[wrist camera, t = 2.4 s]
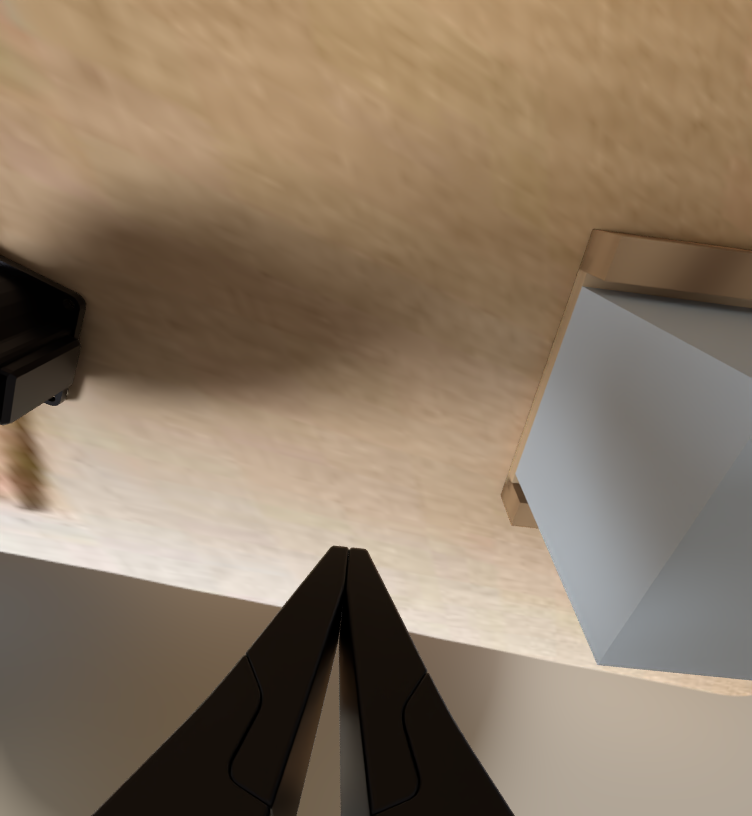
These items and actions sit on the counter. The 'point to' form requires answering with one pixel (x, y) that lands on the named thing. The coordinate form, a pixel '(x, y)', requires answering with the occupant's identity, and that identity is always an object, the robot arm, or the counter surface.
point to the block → (650, 480)
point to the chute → (644, 274)
